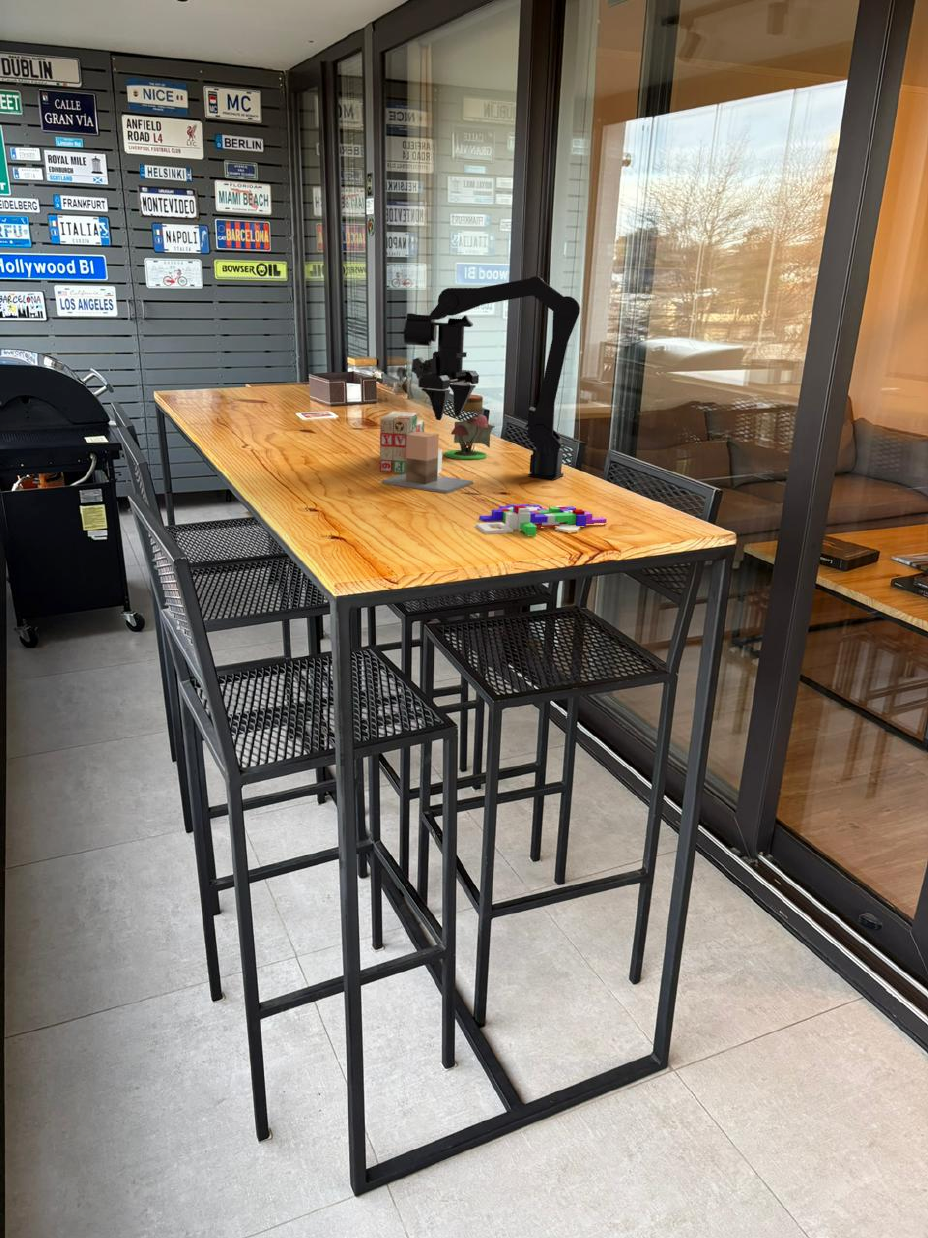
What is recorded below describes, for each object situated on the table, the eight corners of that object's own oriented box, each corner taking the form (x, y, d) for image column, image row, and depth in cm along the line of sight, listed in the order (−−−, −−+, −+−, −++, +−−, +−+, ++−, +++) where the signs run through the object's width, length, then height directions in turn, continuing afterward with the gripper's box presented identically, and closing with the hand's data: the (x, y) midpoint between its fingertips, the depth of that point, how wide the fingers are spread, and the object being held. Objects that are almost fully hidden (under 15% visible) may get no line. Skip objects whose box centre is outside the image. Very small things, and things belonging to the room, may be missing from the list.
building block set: (569, 507, 183) (571, 485, 182) (618, 534, 165) (620, 510, 164) (453, 512, 175) (454, 490, 174) (491, 541, 157) (492, 516, 156)
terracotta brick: (437, 457, 196) (438, 434, 194) (426, 460, 191) (427, 437, 190) (417, 454, 198) (418, 431, 196) (406, 457, 193) (406, 434, 192)
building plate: (472, 483, 199) (472, 480, 198) (447, 493, 189) (447, 490, 188) (410, 474, 205) (410, 471, 205) (381, 483, 195) (381, 480, 195)
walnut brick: (437, 480, 197) (437, 457, 196) (425, 484, 193) (426, 460, 191) (417, 477, 199) (417, 454, 198) (405, 481, 195) (406, 458, 193)
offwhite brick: (441, 471, 210) (442, 449, 209) (436, 475, 206) (436, 453, 204) (420, 469, 211) (421, 448, 210) (415, 473, 207) (415, 451, 205)
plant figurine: (484, 462, 222) (487, 400, 217) (436, 457, 226) (438, 396, 221) (498, 454, 233) (501, 395, 228) (452, 450, 237) (454, 391, 231)
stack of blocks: (399, 456, 226) (400, 406, 222) (424, 457, 226) (425, 407, 221) (379, 472, 207) (379, 417, 202) (406, 474, 206) (407, 419, 201)
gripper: (439, 343, 213) (436, 410, 219) (398, 346, 198) (396, 418, 203) (481, 346, 209) (478, 414, 214) (442, 350, 193) (440, 423, 199)
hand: (448, 417), depth 208 cm, fingers open, 9 cm apart
